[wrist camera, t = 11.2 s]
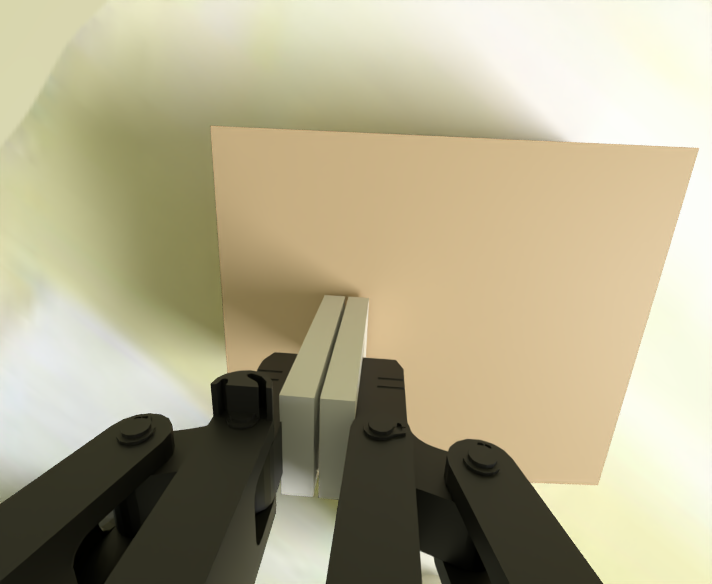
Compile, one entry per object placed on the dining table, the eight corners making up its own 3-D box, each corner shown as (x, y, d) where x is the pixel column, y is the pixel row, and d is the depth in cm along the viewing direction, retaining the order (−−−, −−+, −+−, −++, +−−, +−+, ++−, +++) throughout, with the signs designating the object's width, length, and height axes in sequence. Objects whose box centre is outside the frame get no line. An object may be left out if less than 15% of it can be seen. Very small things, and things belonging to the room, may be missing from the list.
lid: (239, 458, 18) (234, 471, 18) (218, 127, 14) (210, 125, 13) (587, 471, 18) (598, 485, 18) (680, 148, 14) (699, 148, 13)
